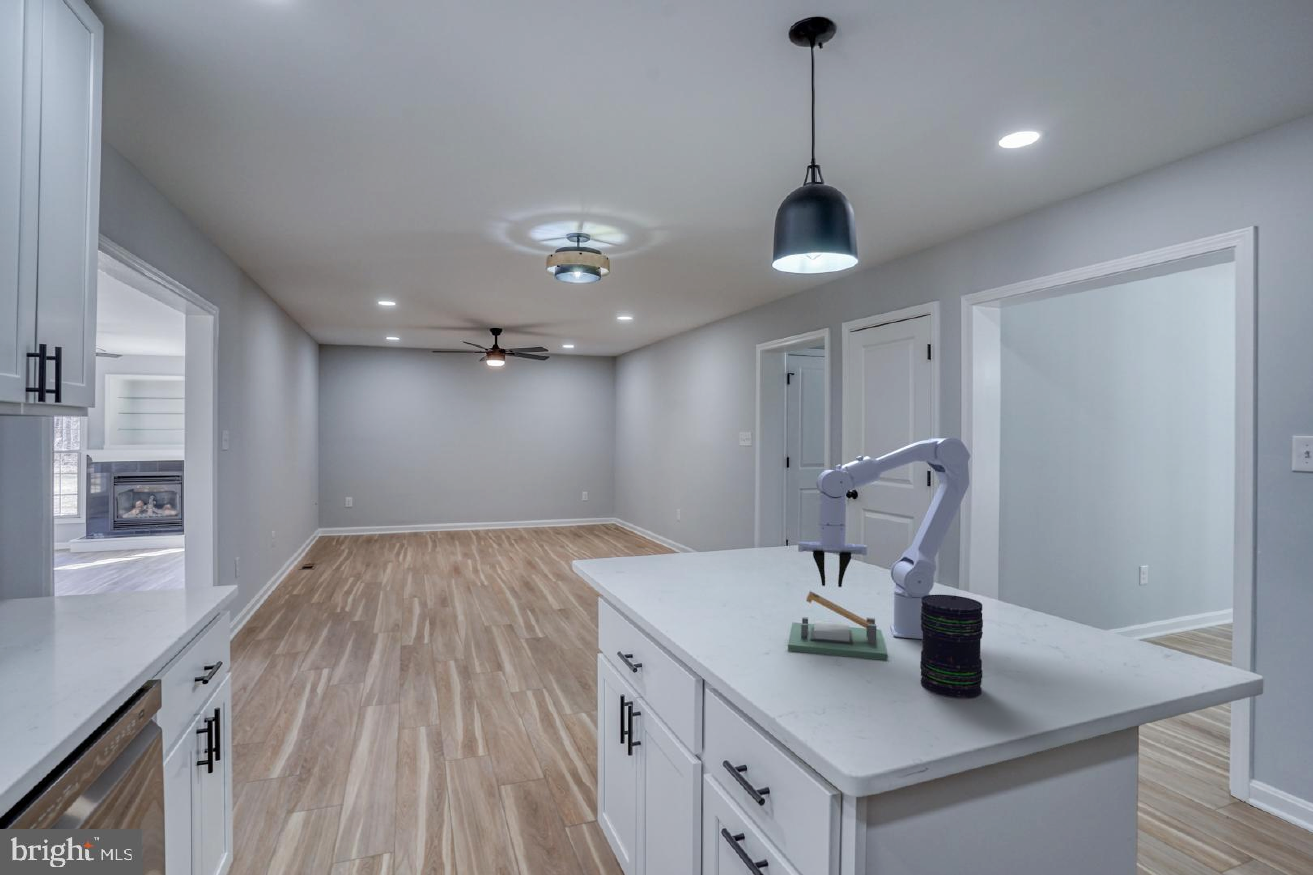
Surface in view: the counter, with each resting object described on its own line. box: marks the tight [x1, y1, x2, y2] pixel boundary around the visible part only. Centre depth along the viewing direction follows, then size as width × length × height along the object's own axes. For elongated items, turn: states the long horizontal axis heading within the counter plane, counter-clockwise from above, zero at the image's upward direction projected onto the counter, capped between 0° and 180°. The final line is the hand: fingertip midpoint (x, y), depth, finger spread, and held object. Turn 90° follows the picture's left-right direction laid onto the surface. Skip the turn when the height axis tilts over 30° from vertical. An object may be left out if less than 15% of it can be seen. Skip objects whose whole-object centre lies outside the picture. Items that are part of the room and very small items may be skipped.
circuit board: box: [787, 616, 888, 661], centre depth 134 cm, size 19×16×5 cm
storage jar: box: [919, 594, 984, 700], centre depth 111 cm, size 10×10×15 cm
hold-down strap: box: [805, 590, 873, 629], centre depth 134 cm, size 15×3×2 cm, turn 75°
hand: (831, 585), depth 141 cm, fingers open, 3 cm apart
